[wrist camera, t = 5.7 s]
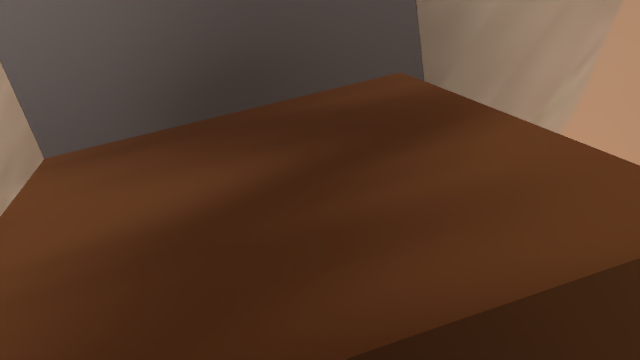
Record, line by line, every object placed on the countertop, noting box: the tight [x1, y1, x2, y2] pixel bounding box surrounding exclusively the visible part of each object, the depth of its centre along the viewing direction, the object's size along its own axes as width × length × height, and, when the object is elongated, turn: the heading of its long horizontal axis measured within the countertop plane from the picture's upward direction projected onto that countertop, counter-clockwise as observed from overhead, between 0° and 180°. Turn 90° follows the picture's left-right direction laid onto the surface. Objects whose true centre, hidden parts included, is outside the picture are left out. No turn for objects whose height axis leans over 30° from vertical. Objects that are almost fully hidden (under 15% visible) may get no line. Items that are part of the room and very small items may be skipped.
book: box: [0, 0, 424, 158], centre depth 18 cm, size 12×16×4 cm
